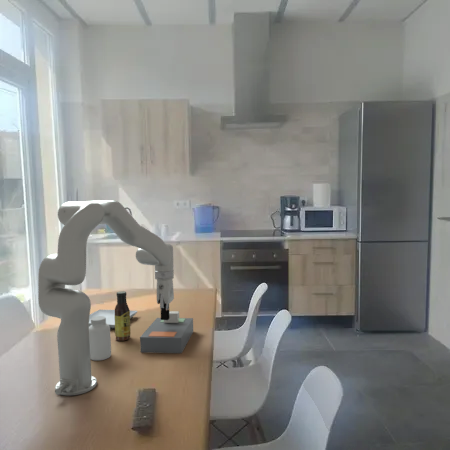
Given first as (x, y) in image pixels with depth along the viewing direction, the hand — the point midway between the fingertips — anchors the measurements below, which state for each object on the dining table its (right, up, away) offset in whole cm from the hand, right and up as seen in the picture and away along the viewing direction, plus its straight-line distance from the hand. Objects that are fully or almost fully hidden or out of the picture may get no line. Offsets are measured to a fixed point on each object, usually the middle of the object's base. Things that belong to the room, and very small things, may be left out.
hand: (165, 319), depth 175 cm
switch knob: (+2, -3, +7) cm, 7 cm away
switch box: (+1, -9, +1) cm, 10 cm away
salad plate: (-31, -8, +28) cm, 43 cm away
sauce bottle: (-18, -10, +6) cm, 22 cm away
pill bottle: (-23, -12, -13) cm, 28 cm away
